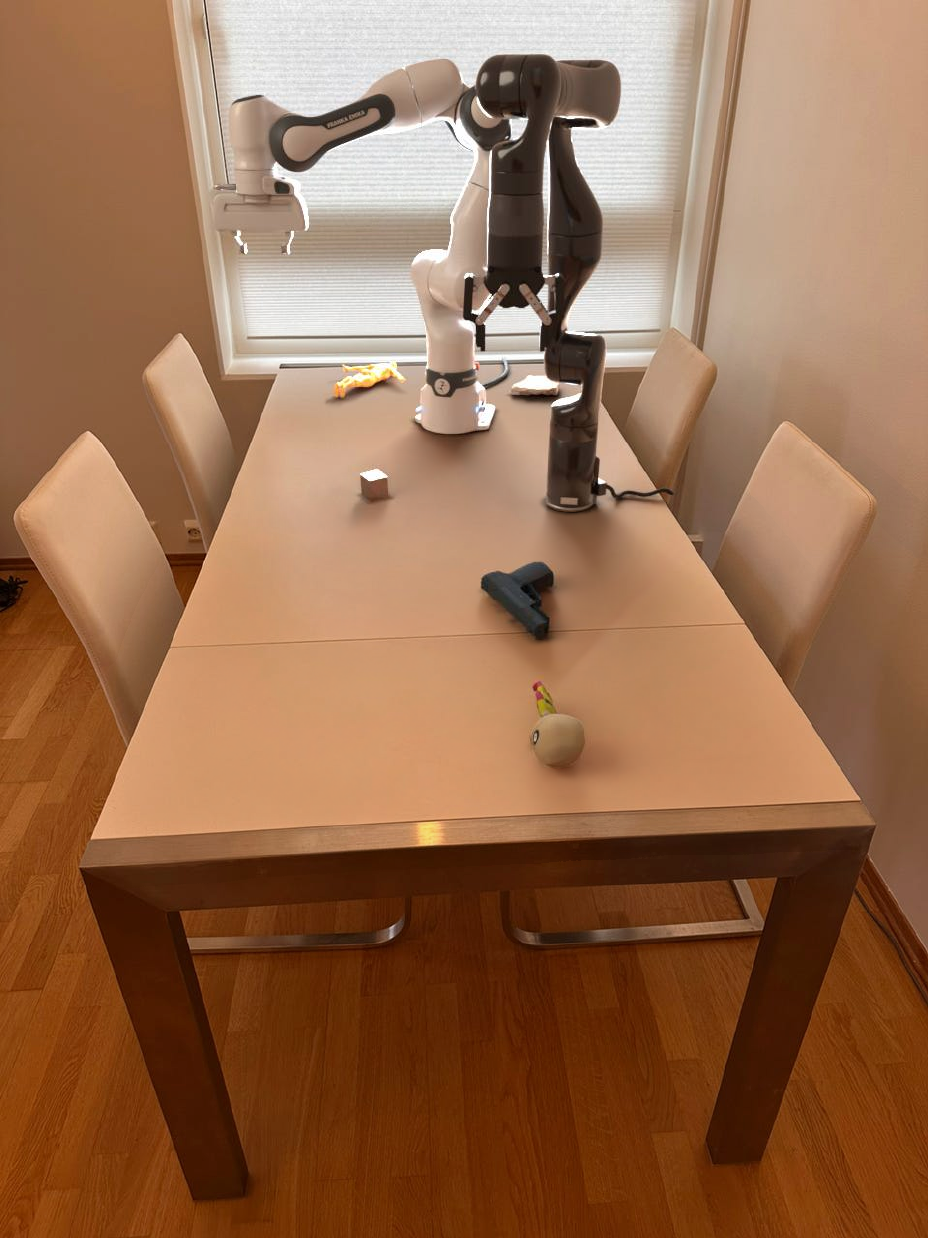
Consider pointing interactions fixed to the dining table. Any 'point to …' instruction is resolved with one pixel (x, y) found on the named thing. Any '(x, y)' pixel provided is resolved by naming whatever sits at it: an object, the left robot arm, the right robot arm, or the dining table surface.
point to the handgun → (522, 594)
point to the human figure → (367, 376)
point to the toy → (555, 733)
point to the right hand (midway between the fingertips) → (512, 350)
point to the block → (374, 485)
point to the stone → (535, 386)
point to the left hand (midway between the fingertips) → (264, 253)
